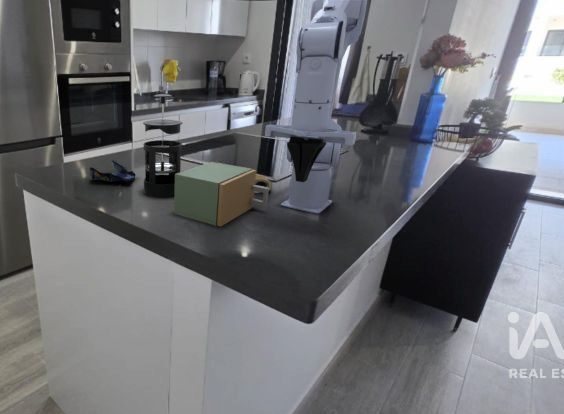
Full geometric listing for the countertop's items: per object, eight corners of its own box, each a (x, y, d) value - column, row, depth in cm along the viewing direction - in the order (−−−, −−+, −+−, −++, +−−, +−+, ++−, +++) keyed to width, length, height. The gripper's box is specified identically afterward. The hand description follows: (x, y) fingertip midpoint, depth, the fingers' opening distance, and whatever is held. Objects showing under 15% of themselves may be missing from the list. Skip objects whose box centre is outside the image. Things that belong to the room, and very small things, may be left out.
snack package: (111, 173, 110) (82, 181, 101) (113, 152, 108) (83, 158, 99) (143, 187, 104) (115, 197, 95) (147, 165, 102) (118, 173, 93)
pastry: (235, 183, 99) (236, 169, 98) (260, 182, 100) (261, 168, 99) (247, 194, 91) (248, 179, 89) (274, 193, 91) (276, 178, 90)
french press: (167, 202, 86) (168, 96, 78) (133, 194, 91) (131, 95, 83) (191, 189, 95) (195, 93, 87) (160, 183, 100) (160, 92, 92)
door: (268, 211, 80) (272, 172, 77) (237, 231, 70) (241, 188, 67) (249, 206, 82) (252, 169, 80) (217, 225, 73) (219, 184, 70)
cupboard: (248, 207, 83) (252, 168, 80) (215, 226, 73) (218, 183, 70) (209, 197, 89) (211, 161, 86) (174, 214, 79) (174, 174, 76)
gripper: (260, 101, 65) (253, 178, 70) (353, 106, 56) (338, 194, 61) (277, 98, 70) (269, 170, 75) (365, 102, 61) (350, 184, 66)
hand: (301, 180), depth 68 cm, fingers closed
